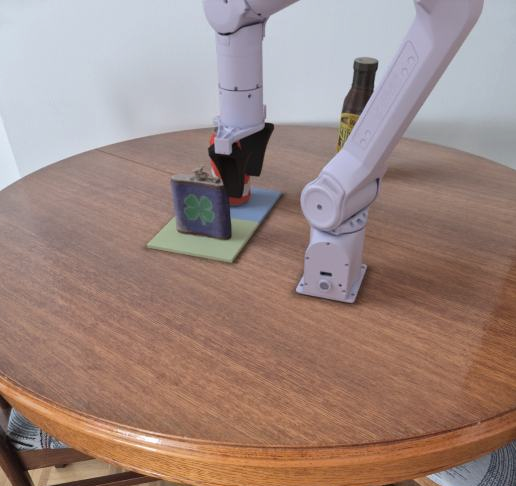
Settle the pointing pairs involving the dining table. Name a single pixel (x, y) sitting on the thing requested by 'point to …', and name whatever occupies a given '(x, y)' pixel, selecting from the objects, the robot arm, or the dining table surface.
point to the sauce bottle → (357, 96)
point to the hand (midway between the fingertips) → (244, 185)
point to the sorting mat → (243, 228)
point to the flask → (201, 205)
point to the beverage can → (216, 174)
